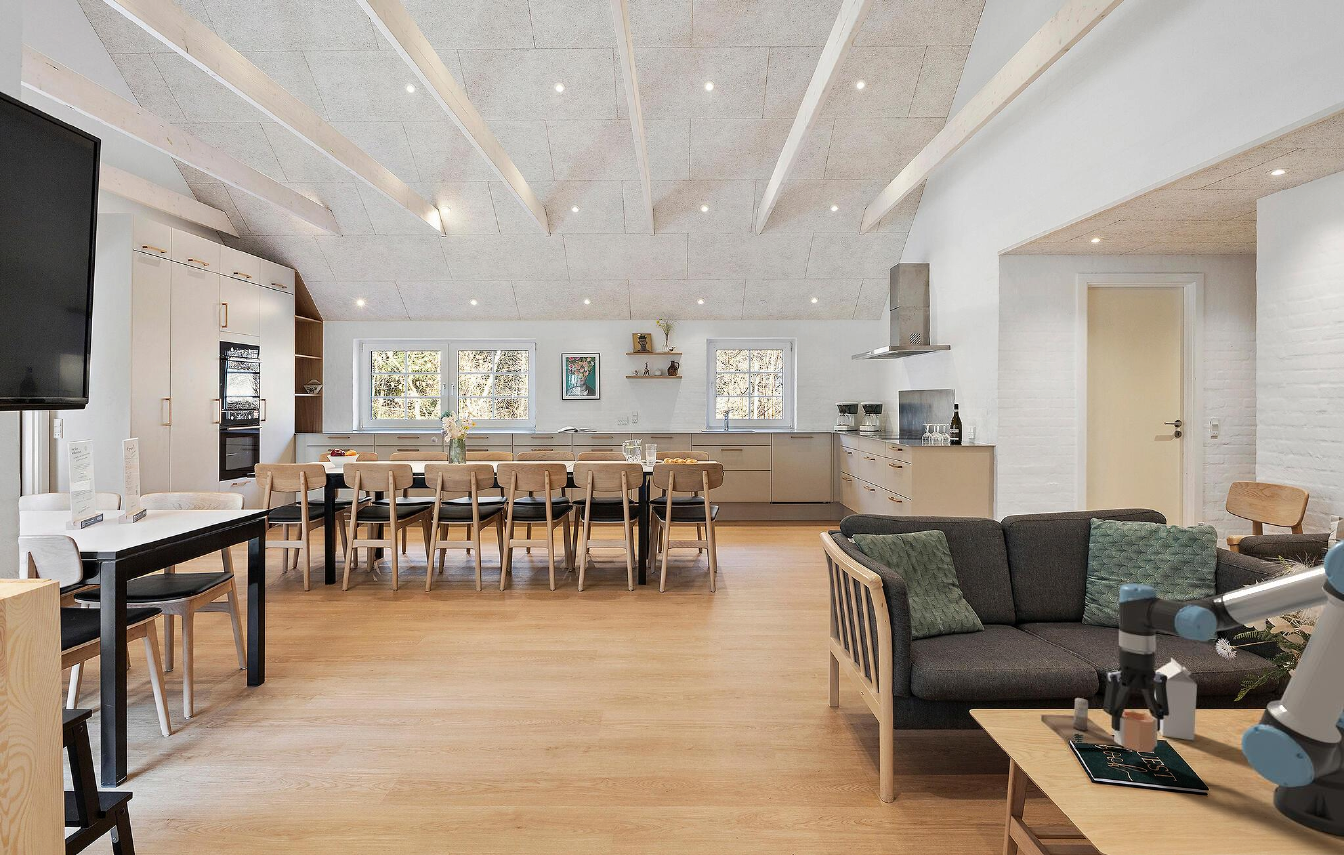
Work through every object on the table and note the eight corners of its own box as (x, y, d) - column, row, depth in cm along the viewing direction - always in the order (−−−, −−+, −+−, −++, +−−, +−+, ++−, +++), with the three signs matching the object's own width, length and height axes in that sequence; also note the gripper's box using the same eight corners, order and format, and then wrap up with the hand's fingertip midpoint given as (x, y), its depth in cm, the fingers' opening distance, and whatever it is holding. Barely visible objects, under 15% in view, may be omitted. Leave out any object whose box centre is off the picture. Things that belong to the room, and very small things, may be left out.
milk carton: (1162, 736, 186) (1166, 665, 186) (1152, 725, 193) (1156, 656, 192) (1194, 741, 184) (1197, 668, 183) (1183, 729, 191) (1186, 659, 190)
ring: (1160, 751, 169) (1161, 722, 169) (1130, 751, 169) (1130, 722, 169) (1140, 738, 176) (1140, 710, 176) (1111, 738, 176) (1111, 709, 176)
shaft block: (1122, 749, 178) (1124, 714, 178) (1074, 748, 178) (1076, 713, 178) (1084, 721, 194) (1086, 688, 194) (1041, 720, 194) (1042, 687, 194)
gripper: (1167, 644, 176) (1165, 737, 176) (1086, 644, 176) (1085, 736, 176) (1189, 654, 169) (1188, 750, 169) (1105, 653, 169) (1103, 750, 169)
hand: (1135, 743), depth 172 cm, fingers closed on ring, 7 cm apart
